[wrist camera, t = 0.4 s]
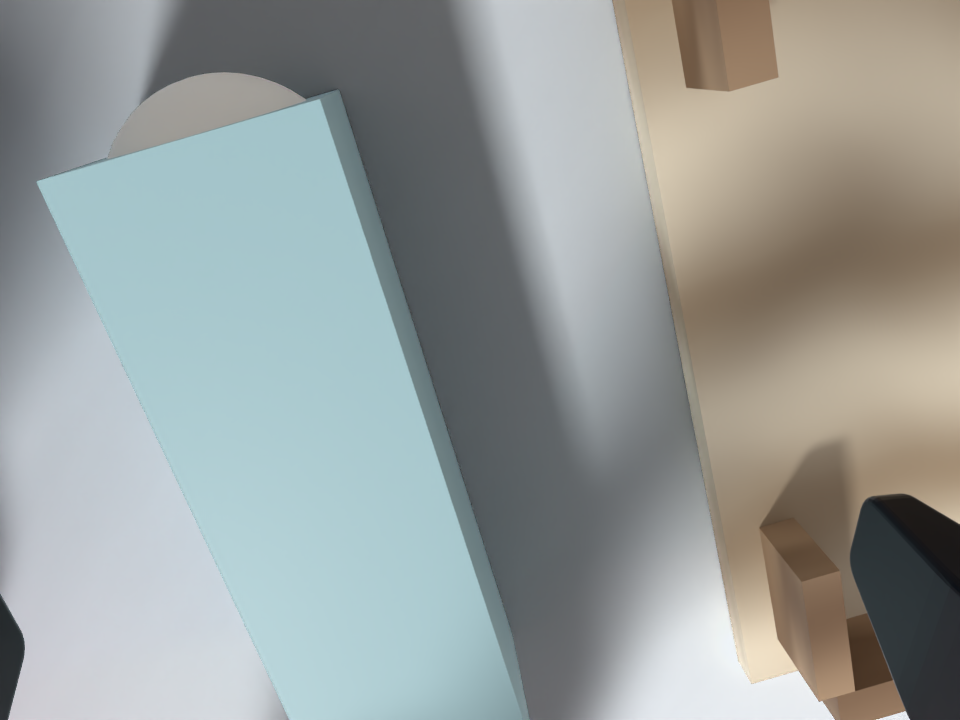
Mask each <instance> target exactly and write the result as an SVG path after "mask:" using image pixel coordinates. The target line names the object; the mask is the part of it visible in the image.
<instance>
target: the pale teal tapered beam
mask: <svg viewBox="0 0 960 720" xmlns="http://www.w3.org/2000/svg"><path fill="white" fill-rule="evenodd" d="M36 182H37V185H38V187H39V189H40V191H41V193H42V195H43V197H44V199H45V202H46V204H47V206H48V208H49V210H50V212H51V214H52V216H53V219H54V221H55V223H56V225H57V227H58V229H59V231H60V233H61V236H62V238H63V240H64V242H65V244H66V246H67V248H68V250H69V253H70V255H71V257H72V259H73V261H74V263H75V265H76V267H77V270H78V272H79V274H80V276H81V278H82V280H83V282H84V284H85V287H86V289H87V291H88V293H89V295H90V297H91V299H92V301H93V304H94V306H95V308H96V310H97V312H98V314H99V316H100V318H101V321H102V323H103V325H104V327H105V329H106V331H107V333H108V335H109V338H110V340H111V342H112V344H113V346H114V348H115V350H116V352H117V355H118V357H119V359H120V361H121V363H122V365H123V367H124V370H125V372H126V374H127V376H128V378H129V380H130V382H131V384H132V387H133V389H134V391H135V393H136V395H137V397H138V399H139V401H140V404H141V406H142V408H143V410H144V412H145V414H146V416H147V418H148V421H149V423H150V425H151V427H152V429H153V431H154V433H155V435H156V438H157V440H158V442H159V444H160V446H161V448H162V450H163V452H164V455H165V457H166V459H167V461H168V463H169V465H170V467H171V469H172V472H173V474H174V476H175V478H176V480H177V482H178V484H179V486H180V489H181V491H182V493H183V495H184V497H185V499H186V501H187V503H188V506H189V508H190V510H191V512H192V514H193V516H194V518H195V520H196V523H197V525H198V527H199V529H200V531H201V533H202V535H203V537H204V540H205V542H206V544H207V546H208V548H209V550H210V552H211V554H212V557H213V559H214V561H215V563H216V565H217V567H218V569H219V571H220V574H221V576H222V578H223V580H224V582H225V584H226V586H227V588H228V591H229V593H230V595H231V597H232V599H233V601H234V603H235V605H236V608H237V610H238V612H239V614H240V616H241V618H242V620H243V622H244V625H245V627H246V629H247V631H248V633H249V635H250V637H251V639H252V642H253V644H254V646H255V648H256V650H257V652H258V654H259V657H260V659H261V661H262V663H263V665H264V667H265V669H266V671H267V674H268V676H269V678H270V680H271V682H272V684H273V686H274V688H275V691H276V693H277V695H278V697H279V699H280V701H281V703H282V705H283V708H284V710H285V712H286V714H287V716H288V718H289V720H530V718H529V713H528V708H527V704H526V699H525V694H524V689H523V684H522V679H521V674H520V669H519V665H518V660H517V655H516V650H515V645H514V640H513V635H512V632H511V629H510V626H509V622H508V619H507V616H506V613H505V610H504V607H503V604H502V600H501V597H500V594H499V591H498V588H497V585H496V582H495V578H494V575H493V572H492V569H491V566H490V563H489V560H488V556H487V553H486V550H485V547H484V544H483V541H482V538H481V534H480V531H479V528H478V525H477V522H476V519H475V515H474V512H473V509H472V506H471V503H470V500H469V497H468V493H467V490H466V487H465V484H464V481H463V478H462V475H461V471H460V468H459V465H458V462H457V459H456V456H455V453H454V449H453V446H452V443H451V440H450V437H449V434H448V431H447V427H446V424H445V421H444V418H443V415H442V412H441V409H440V405H439V402H438V399H437V396H436V393H435V390H434V387H433V383H432V380H431V377H430V374H429V371H428V368H427V365H426V361H425V358H424V355H423V352H422V349H421V346H420V343H419V339H418V336H417V333H416V330H415V327H414V324H413V321H412V317H411V314H410V311H409V308H408V305H407V302H406V299H405V295H404V292H403V289H402V286H401V283H400V280H399V277H398V273H397V270H396V267H395V264H394V261H393V258H392V255H391V251H390V248H389V245H388V242H387V239H386V236H385V233H384V229H383V226H382V223H381V220H380V217H379V214H378V211H377V207H376V204H375V201H374V198H373V195H372V192H371V189H370V185H369V182H368V179H367V176H366V173H365V170H364V167H363V163H362V160H361V157H360V154H359V151H358V148H357V145H356V141H355V138H354V135H353V132H352V129H351V126H350V123H349V119H348V116H347V113H346V110H345V107H344V104H343V101H342V97H341V94H340V91H339V89H338V90H334V91H331V92H327V93H324V94H321V95H317V96H314V97H310V98H307V99H305V98H303V97H302V96H300V95H298V94H297V93H295V92H294V91H292V90H290V89H288V88H286V87H284V86H282V85H280V84H278V83H276V82H273V81H270V80H267V79H264V78H261V77H257V76H252V75H247V74H242V73H229V72H219V73H206V74H201V75H197V76H192V77H188V78H186V79H183V80H180V81H178V82H175V83H172V84H170V85H168V86H166V87H165V88H163V89H161V90H159V91H157V92H155V93H154V94H153V95H151V96H150V97H149V98H148V99H146V100H145V101H144V102H142V103H141V104H140V105H139V106H138V107H137V108H136V109H135V111H134V112H133V113H132V114H131V115H130V116H129V118H128V119H127V120H126V122H125V123H124V125H123V126H122V127H121V129H120V130H119V132H118V134H117V136H116V138H115V140H114V142H113V144H112V146H111V149H110V152H109V155H108V157H107V158H104V159H101V160H98V161H95V162H92V163H89V164H86V165H83V166H80V167H77V168H74V169H71V170H69V171H66V172H63V173H60V174H57V175H54V176H51V177H48V178H45V179H42V180H39V181H36Z"/></svg>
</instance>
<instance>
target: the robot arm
mask: <svg viewBox="0 0 960 720" xmlns="http://www.w3.org/2000/svg"><path fill="white" fill-rule="evenodd" d="M850 566H851V571H852V574H853V577H854V580H855V583H856V585H857V588H858V590H859V593H860V596H861V598H862V601H863V603H864V606H865V608H866V611H867V614H868V616H869V619H870V621H871V624H872V627H873V629H874V632H875V634H876V637H877V640H878V642H879V645H880V647H881V650H882V652H883V655H884V658H885V660H886V663H887V665H888V668H889V671H890V673H891V676H892V678H893V681H894V684H895V686H896V689H897V691H898V693H899V696H900V698H901V701H902V703H903V705H904V708H905V710H906V712H907V715H908V717H909V719H910V720H960V524H959V523H957V522H955V521H954V520H952V519H950V518H949V517H947V516H945V515H944V514H942V513H940V512H939V511H937V510H935V509H934V508H932V507H930V506H929V505H927V504H925V503H924V502H922V501H920V500H919V499H917V498H915V497H913V496H911V495H908V494H903V493H898V494H888V495H877V496H871V497H868V498H867V499H866V500H865V501H864V502H863V504H862V506H861V509H860V513H859V517H858V521H857V525H856V529H855V533H854V537H853V541H852V545H851V549H850ZM24 651H25V644H24V638H23V634H22V632H21V630H20V628H19V626H18V624H17V623H16V621H15V619H14V617H13V616H12V614H11V612H10V610H9V609H8V607H7V605H6V603H5V601H4V600H3V598H2V596H1V594H0V720H8V718H9V714H10V710H11V706H12V702H13V698H14V694H15V690H16V687H17V683H18V679H19V675H20V671H21V667H22V663H23V659H24Z"/></svg>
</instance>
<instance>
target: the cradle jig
mask: <svg viewBox="0 0 960 720" xmlns="http://www.w3.org/2000/svg"><path fill="white" fill-rule="evenodd" d="M612 1H613V6H614V12H615V17H616V22H617V27H618V33H619V38H620V43H621V48H622V54H623V59H624V64H625V69H626V75H627V80H628V85H629V90H630V96H631V101H632V106H633V111H634V117H635V122H636V127H637V132H638V137H639V143H640V148H641V153H642V158H643V164H644V169H645V174H646V179H647V185H648V190H649V195H650V200H651V206H652V211H653V216H654V221H655V227H656V232H657V237H658V242H659V248H660V253H661V258H662V263H663V268H664V274H665V279H666V284H667V289H668V295H669V300H670V305H671V310H672V316H673V321H674V326H675V331H676V337H677V342H678V347H679V352H680V358H681V363H682V368H683V373H684V379H685V384H686V389H687V394H688V400H689V405H690V410H691V415H692V420H693V426H694V431H695V436H696V441H697V447H698V452H699V457H700V462H701V468H702V473H703V478H704V483H705V489H706V494H707V499H708V504H709V510H710V515H711V520H712V525H713V531H714V536H715V541H716V546H717V551H718V557H719V562H720V567H721V572H722V578H723V583H724V588H725V593H726V599H727V604H728V609H729V614H730V620H731V625H732V630H733V635H734V641H735V646H736V651H737V656H738V661H739V663H740V665H741V666H742V668H743V670H744V672H745V673H746V675H747V677H748V679H749V680H750V682H751V684H754V683H757V682H760V681H764V680H767V679H771V678H774V677H778V676H781V675H785V674H788V673H792V672H795V671H799V672H800V674H801V675H802V677H803V678H804V680H805V681H806V683H807V684H808V686H809V687H810V689H811V690H812V692H813V693H814V695H815V696H816V698H817V699H818V701H819V702H820V701H823V702H824V704H825V705H826V707H827V708H828V710H829V711H830V713H831V714H832V716H833V717H834V719H835V720H876V719H879V718H883V717H886V716H890V715H893V714H897V713H900V712H904V711H906V710H905V708H904V705H903V703H902V701H901V698H900V696H899V693H898V691H897V689H896V686H895V684H894V681H893V678H892V676H891V673H890V671H889V668H888V665H887V663H886V660H885V658H884V655H883V652H882V650H881V647H880V645H879V642H878V640H877V637H876V634H875V632H874V629H873V627H872V624H871V621H870V619H869V616H868V614H867V611H866V608H865V606H864V603H863V601H862V598H861V596H860V593H859V590H858V588H857V585H856V583H855V580H854V577H853V574H852V571H851V566H850V549H851V545H852V541H853V537H854V533H855V529H856V525H857V521H858V517H859V513H860V509H861V506H862V504H863V502H864V501H865V500H866V499H867V498H868V497H871V496H877V495H888V494H898V493H903V494H908V495H911V496H913V497H915V498H917V499H919V500H920V501H922V502H924V503H925V504H927V505H929V506H930V507H932V508H934V509H935V510H937V511H939V512H940V513H942V514H944V515H945V516H947V517H949V518H950V519H952V520H954V521H955V522H957V523H959V524H960V0H612Z"/></svg>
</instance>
